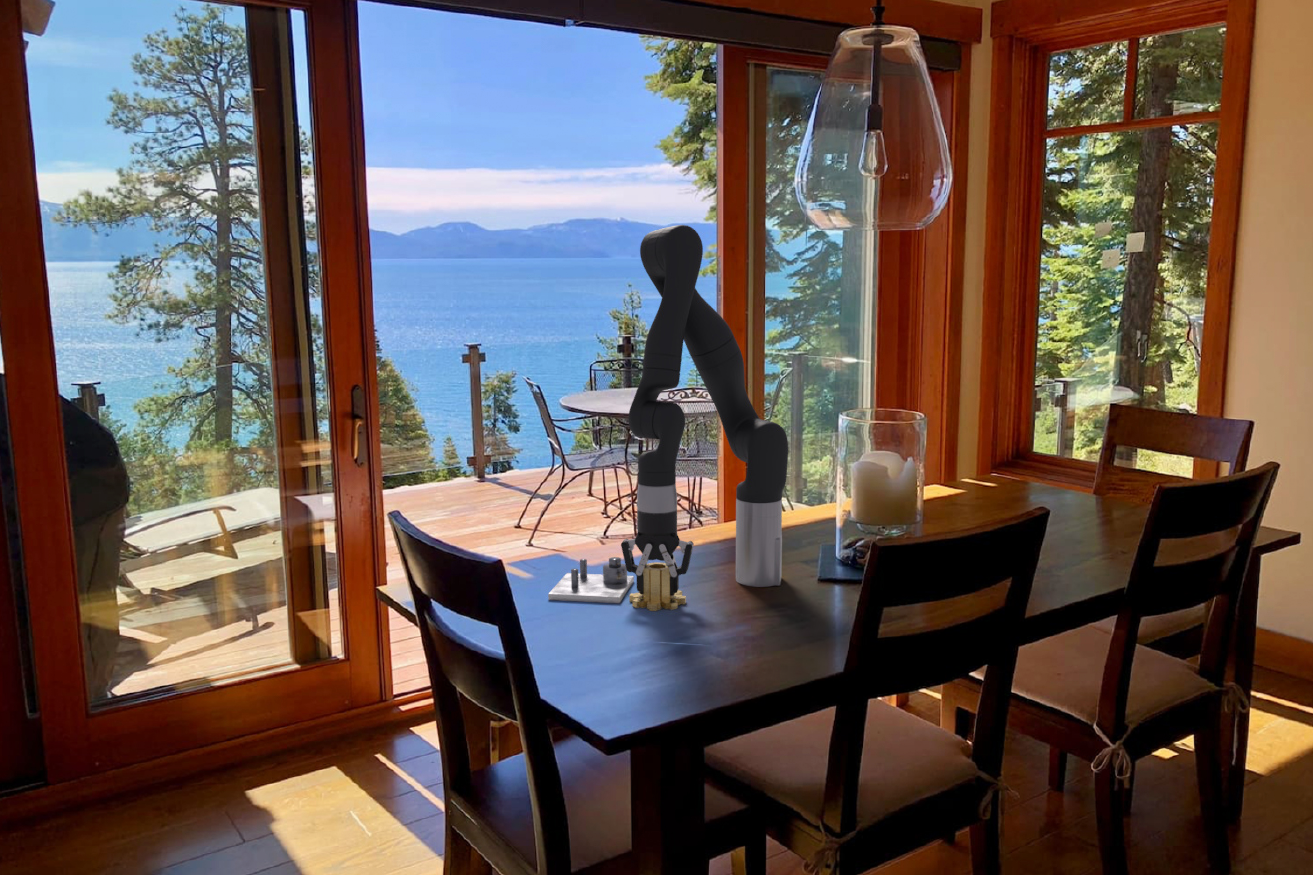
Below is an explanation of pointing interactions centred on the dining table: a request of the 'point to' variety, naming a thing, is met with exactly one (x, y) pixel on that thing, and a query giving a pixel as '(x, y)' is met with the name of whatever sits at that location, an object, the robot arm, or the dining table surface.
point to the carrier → (594, 584)
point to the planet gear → (657, 589)
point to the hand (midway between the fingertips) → (657, 593)
